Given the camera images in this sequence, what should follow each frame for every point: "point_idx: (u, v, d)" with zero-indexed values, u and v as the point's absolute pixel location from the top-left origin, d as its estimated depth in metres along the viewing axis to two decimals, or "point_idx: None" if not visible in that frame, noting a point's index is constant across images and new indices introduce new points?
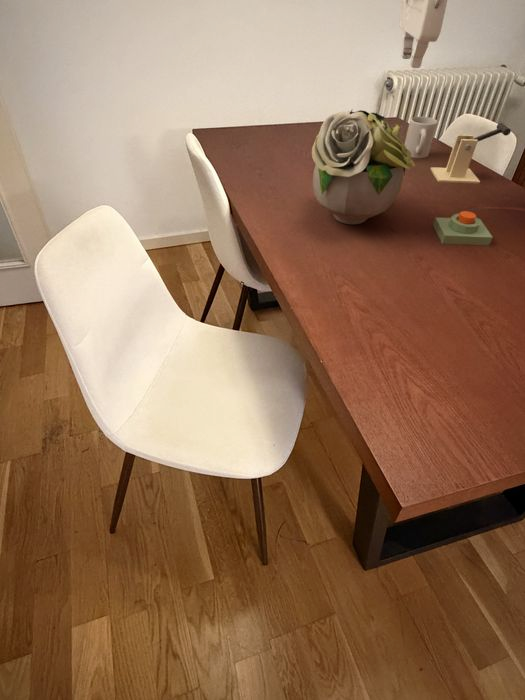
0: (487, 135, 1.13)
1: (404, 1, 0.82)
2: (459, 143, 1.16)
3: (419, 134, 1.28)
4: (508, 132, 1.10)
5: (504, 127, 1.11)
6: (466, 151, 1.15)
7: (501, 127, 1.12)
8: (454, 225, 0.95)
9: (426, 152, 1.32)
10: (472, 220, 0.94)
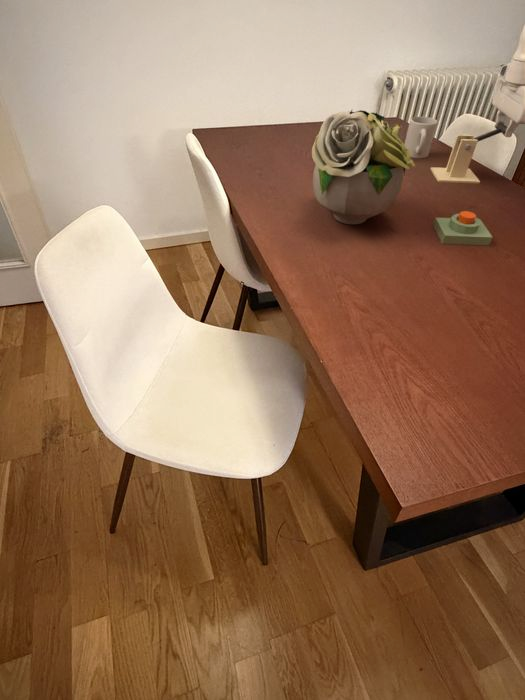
0: (487, 135, 1.13)
1: (498, 87, 1.12)
2: (459, 143, 1.16)
3: (419, 134, 1.28)
4: None
5: (504, 127, 1.11)
6: (466, 151, 1.15)
7: (501, 127, 1.12)
8: (454, 225, 0.95)
9: (426, 152, 1.32)
10: (472, 220, 0.94)
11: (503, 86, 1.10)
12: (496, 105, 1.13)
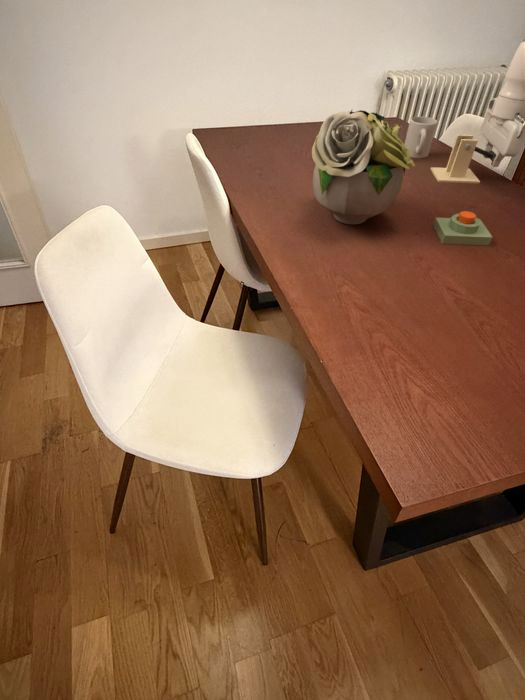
0: (482, 151, 1.16)
1: (487, 119, 1.18)
2: None
3: (419, 134, 1.28)
4: None
5: (496, 155, 1.16)
6: (466, 151, 1.15)
7: (494, 154, 1.17)
8: (454, 225, 0.95)
9: (426, 152, 1.32)
10: (472, 220, 0.94)
11: (491, 118, 1.16)
12: (485, 135, 1.19)
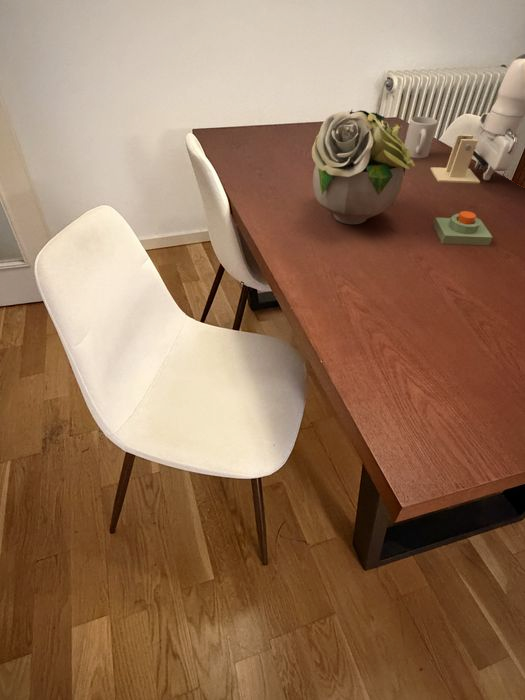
0: (478, 156, 1.17)
1: (479, 132, 1.20)
2: (464, 138, 1.15)
3: (419, 134, 1.28)
4: None
5: None
6: (466, 151, 1.15)
7: None
8: (454, 225, 0.95)
9: (426, 152, 1.32)
10: (472, 220, 0.94)
11: (483, 132, 1.19)
12: (476, 148, 1.21)
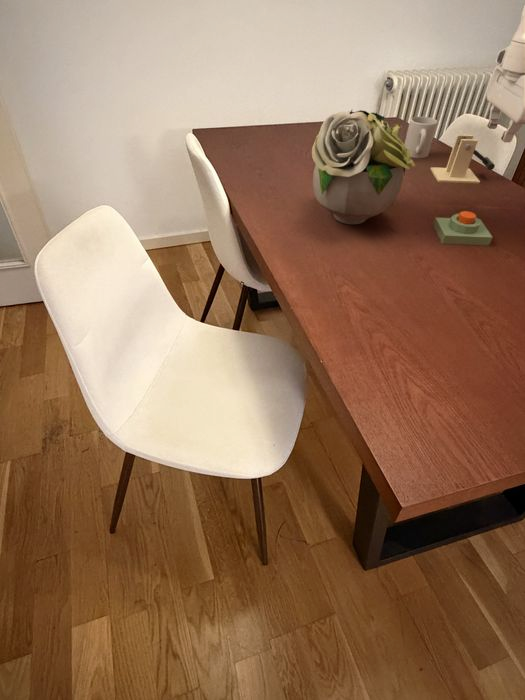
0: (479, 155, 1.17)
1: (494, 79, 0.90)
2: (463, 138, 1.15)
3: (419, 134, 1.28)
4: (491, 168, 1.17)
5: (491, 162, 1.17)
6: (466, 151, 1.15)
7: (489, 160, 1.18)
8: (454, 225, 0.95)
9: (426, 152, 1.32)
10: (472, 220, 0.94)
11: (500, 77, 0.89)
12: (491, 101, 0.91)
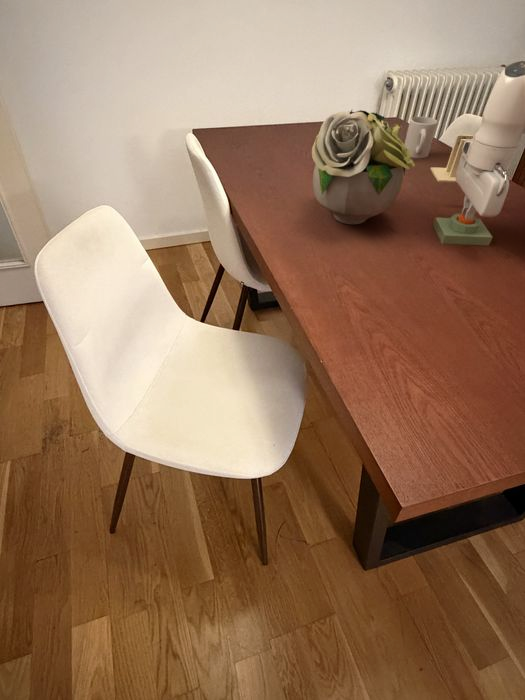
0: None
1: (462, 164, 0.94)
2: (463, 138, 1.15)
3: (419, 134, 1.28)
4: None
5: None
6: None
7: None
8: (454, 225, 0.95)
9: (426, 152, 1.32)
10: (471, 223, 0.94)
11: (467, 164, 0.92)
12: (459, 184, 0.95)
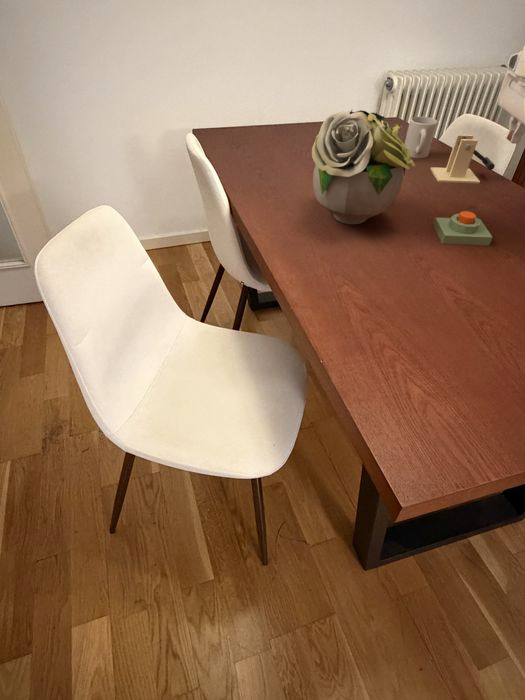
0: (479, 155, 1.17)
1: (506, 84, 0.87)
2: (463, 138, 1.15)
3: (419, 134, 1.28)
4: (491, 168, 1.17)
5: (491, 162, 1.17)
6: (466, 151, 1.15)
7: (489, 160, 1.18)
8: (454, 225, 0.95)
9: (426, 152, 1.32)
10: (472, 220, 0.94)
11: (512, 82, 0.85)
12: (504, 106, 0.88)
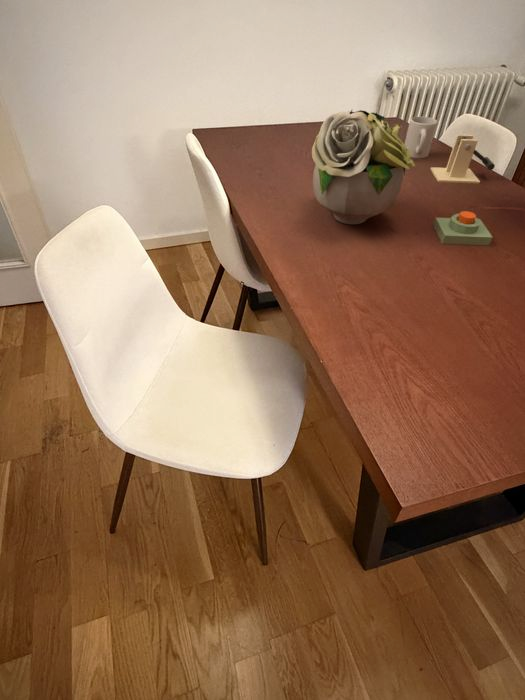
0: (479, 155, 1.17)
1: None
2: (463, 138, 1.15)
3: (419, 134, 1.28)
4: (491, 168, 1.17)
5: (491, 162, 1.17)
6: (466, 151, 1.15)
7: (489, 160, 1.18)
8: (454, 225, 0.95)
9: (426, 152, 1.32)
10: (472, 220, 0.94)
11: None
12: None
